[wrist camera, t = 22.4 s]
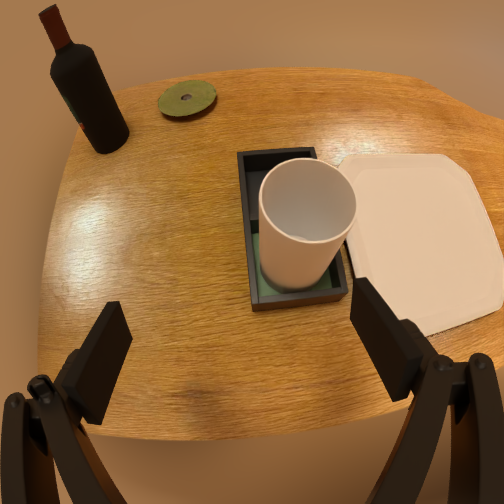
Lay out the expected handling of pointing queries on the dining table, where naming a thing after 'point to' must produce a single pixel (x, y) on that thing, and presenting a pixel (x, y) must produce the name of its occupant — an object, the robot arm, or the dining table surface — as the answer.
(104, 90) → the wine bottle
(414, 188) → the plate
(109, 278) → the dining table surface
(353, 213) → the cup
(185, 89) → the mat
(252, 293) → the holder
